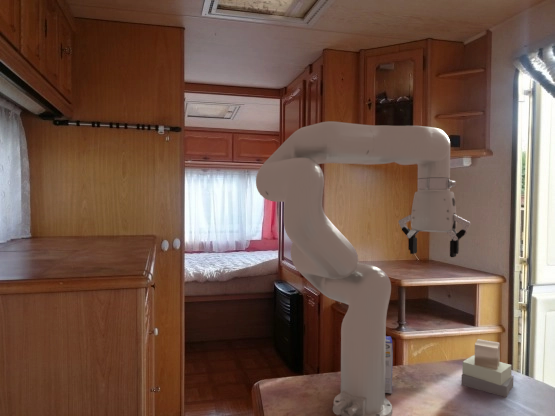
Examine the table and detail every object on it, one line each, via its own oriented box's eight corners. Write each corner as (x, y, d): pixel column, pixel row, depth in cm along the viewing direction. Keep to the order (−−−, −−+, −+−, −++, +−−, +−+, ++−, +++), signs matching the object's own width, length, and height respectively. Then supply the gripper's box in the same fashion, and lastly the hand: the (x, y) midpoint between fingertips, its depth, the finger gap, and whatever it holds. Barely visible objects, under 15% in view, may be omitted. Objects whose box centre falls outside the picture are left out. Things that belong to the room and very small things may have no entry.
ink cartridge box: (391, 384, 102) (392, 326, 102) (393, 394, 97) (393, 333, 97) (351, 380, 104) (351, 324, 104) (350, 390, 99) (351, 330, 99)
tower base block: (506, 399, 96) (506, 386, 96) (461, 387, 102) (461, 375, 102) (513, 387, 102) (513, 375, 102) (470, 376, 109) (470, 365, 109)
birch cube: (497, 369, 99) (497, 348, 99) (474, 364, 101) (474, 344, 101) (499, 362, 103) (499, 342, 103) (477, 358, 106) (477, 339, 106)
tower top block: (501, 385, 97) (501, 372, 97) (462, 373, 103) (462, 361, 103) (511, 377, 101) (511, 364, 101) (473, 366, 108) (473, 354, 108)
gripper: (474, 186, 100) (473, 256, 100) (404, 187, 110) (404, 251, 111) (467, 184, 94) (466, 259, 94) (394, 186, 104) (393, 253, 105)
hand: (432, 255), depth 102 cm, fingers open, 9 cm apart
